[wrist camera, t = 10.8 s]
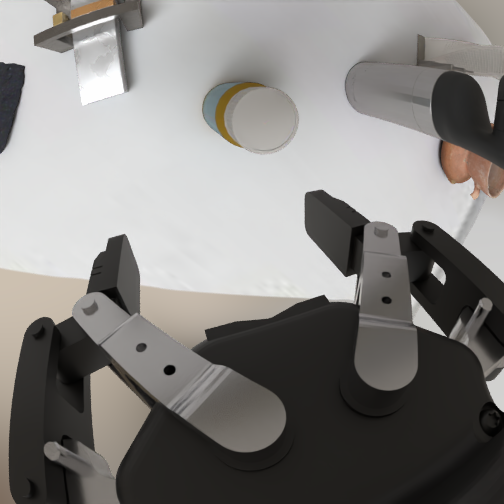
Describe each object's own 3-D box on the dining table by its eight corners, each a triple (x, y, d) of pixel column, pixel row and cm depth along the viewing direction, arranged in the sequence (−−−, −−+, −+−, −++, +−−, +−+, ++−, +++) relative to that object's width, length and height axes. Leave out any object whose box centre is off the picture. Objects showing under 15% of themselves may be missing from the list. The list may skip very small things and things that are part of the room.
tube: (79, -24, 17) (70, -36, 13) (116, -35, 18) (111, -49, 14) (91, 102, 29) (82, 105, 25) (128, 91, 30) (123, 92, 26)
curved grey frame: (138, -23, 21) (134, -51, 13) (142, 27, 26) (138, 9, 18) (58, 2, 19) (33, -16, 11) (61, 52, 23) (34, 45, 16)
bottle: (208, 138, 37) (236, 168, 25) (196, 90, 33) (218, 91, 21) (257, 125, 38) (307, 149, 26) (247, 78, 33) (296, 76, 21)
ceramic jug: (450, 190, 57) (493, 217, 45) (423, 165, 50) (475, 193, 39) (476, 131, 50) (521, 151, 38) (453, 97, 43) (507, 114, 32)
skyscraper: (416, 27, 33) (552, 47, 11) (441, 41, 36) (563, 67, 13) (415, 66, 38) (552, 102, 16) (440, 77, 40) (561, 115, 18)
